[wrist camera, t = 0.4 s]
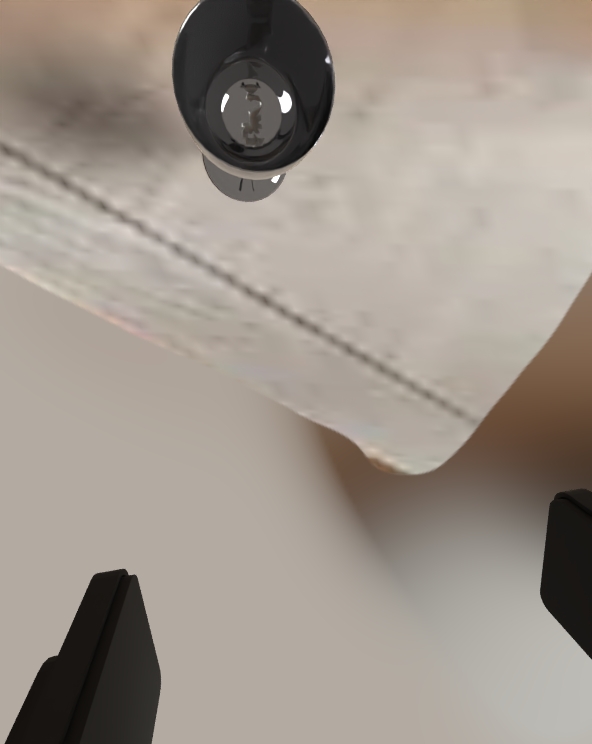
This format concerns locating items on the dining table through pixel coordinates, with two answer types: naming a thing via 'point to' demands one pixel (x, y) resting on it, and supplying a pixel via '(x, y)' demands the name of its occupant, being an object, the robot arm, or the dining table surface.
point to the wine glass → (252, 90)
